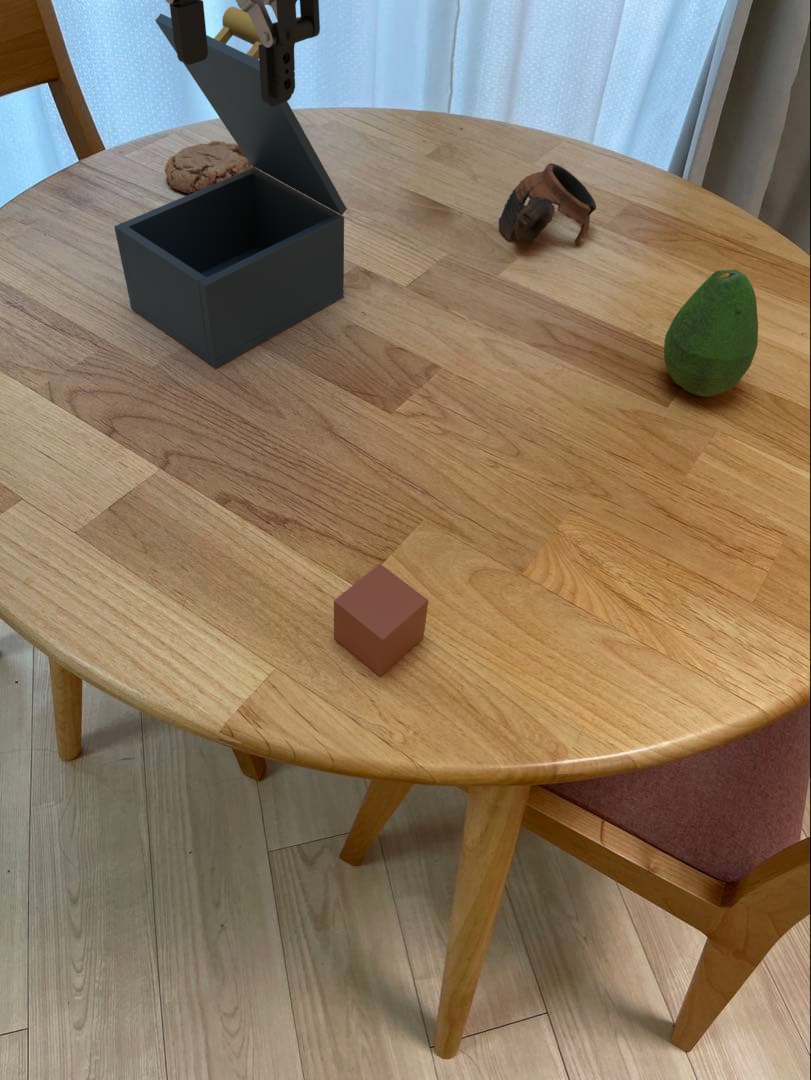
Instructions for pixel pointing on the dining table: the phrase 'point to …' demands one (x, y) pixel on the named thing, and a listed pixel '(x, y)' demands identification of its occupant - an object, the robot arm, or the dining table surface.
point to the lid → (257, 111)
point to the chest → (233, 264)
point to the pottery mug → (545, 204)
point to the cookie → (205, 165)
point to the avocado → (713, 335)
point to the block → (379, 619)
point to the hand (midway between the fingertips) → (234, 80)
